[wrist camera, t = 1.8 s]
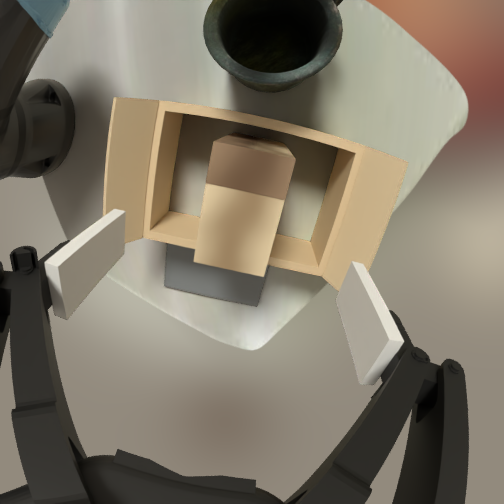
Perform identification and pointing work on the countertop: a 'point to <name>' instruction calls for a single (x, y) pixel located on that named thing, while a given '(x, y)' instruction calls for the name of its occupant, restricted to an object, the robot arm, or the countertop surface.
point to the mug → (273, 39)
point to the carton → (284, 248)
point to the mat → (210, 278)
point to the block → (243, 202)
